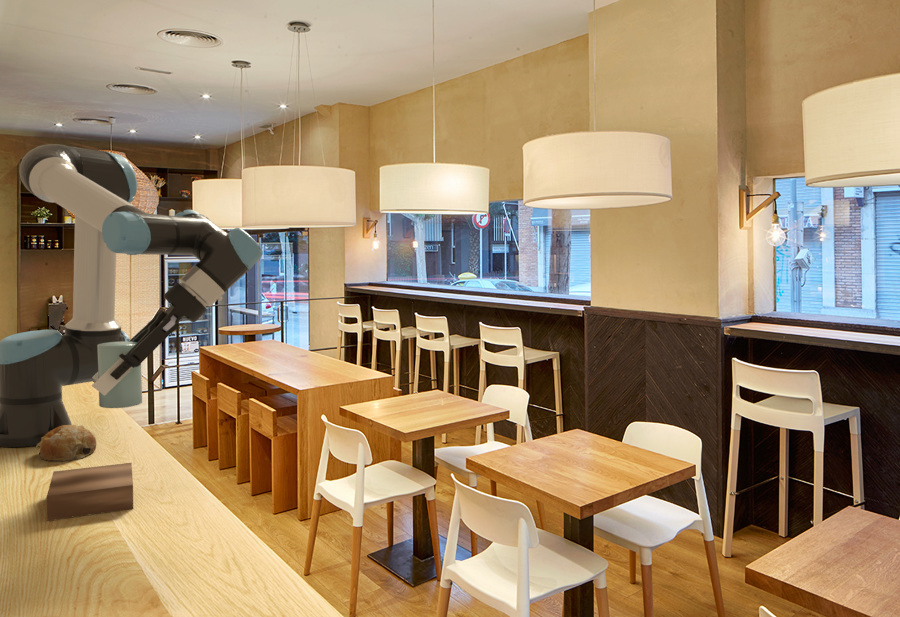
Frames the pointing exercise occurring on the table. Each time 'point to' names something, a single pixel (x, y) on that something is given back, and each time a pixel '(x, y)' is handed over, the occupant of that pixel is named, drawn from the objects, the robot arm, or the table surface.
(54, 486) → the pedestal
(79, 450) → the bread roll
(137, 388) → the dome-topped cylinder
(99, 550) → the table surface
